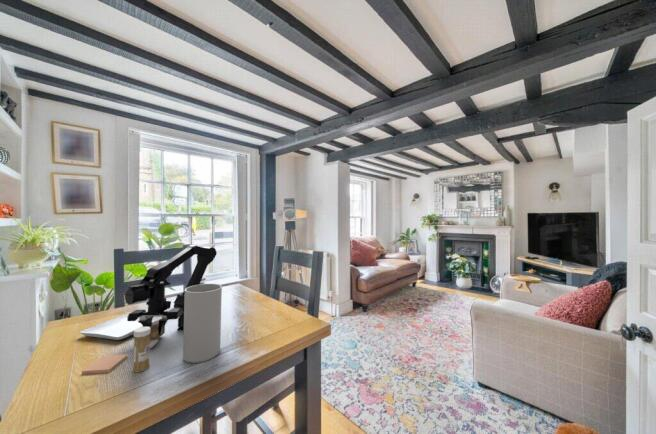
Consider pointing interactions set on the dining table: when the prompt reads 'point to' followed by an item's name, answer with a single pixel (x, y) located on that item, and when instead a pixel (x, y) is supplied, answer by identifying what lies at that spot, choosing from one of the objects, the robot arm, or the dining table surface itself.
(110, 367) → the ceramic tile
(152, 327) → the tall cardboard box
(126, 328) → the salad plate
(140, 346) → the sprinkles bottle
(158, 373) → the dining table surface
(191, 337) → the cylinder vase
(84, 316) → the dining table surface
